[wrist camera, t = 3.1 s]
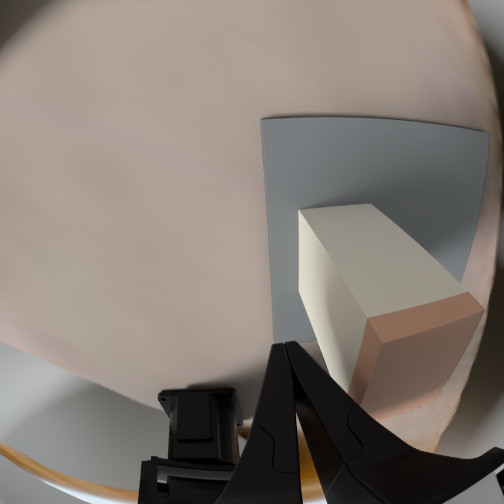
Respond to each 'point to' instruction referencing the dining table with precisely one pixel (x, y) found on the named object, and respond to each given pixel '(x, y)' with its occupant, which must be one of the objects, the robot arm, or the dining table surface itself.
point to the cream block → (381, 308)
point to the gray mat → (368, 191)
